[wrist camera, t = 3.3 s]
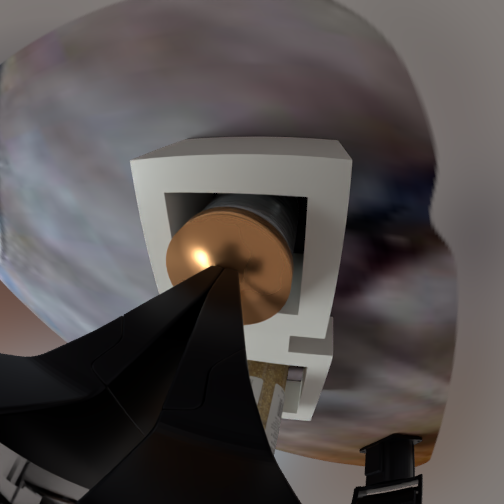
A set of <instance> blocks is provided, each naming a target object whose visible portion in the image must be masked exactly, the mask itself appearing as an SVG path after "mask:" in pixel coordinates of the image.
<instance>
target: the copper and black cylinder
mask: <svg viewBox="0 0 504 504" xmlns="http://www.w3.org/2000/svg"><path fill="white" fill-rule="evenodd" d="M298 219H299V204H298V200H297V197H296V196H284V195H266V194H242V193H219V194H218V195H217V196H216V197H215V198H214V199H213V200H212V201H211V202H210V203H209V204H208V205H207V206H206V207H205V208H204V209H203V210H202V211H201V212H199V213H197V214H196V215H194V216H193V217H192V218H190V219H189V220H188V221H187V222H186V223H185V224H184V225H183V226H182V228H181V229H180V230H179V231H178V232H177V233H176V234H175V235H174V237H173V238H172V239H171V241H170V243H169V246H168V249H167V253H166V267H167V272H168V276H169V279H170V281H171V283H172V285H173V287H174V286H175V285H177V284H179V283H181V282H182V281H184V280H186V279H188V278H190V277H191V276H193V275H195V274H197V273H199V272H200V271H202V270H204V269H206V268H207V267H209V266H218V267H223V268H224V269H225V268H229V269H235V270H238V273H239V283H240V294H241V305H242V315H243V325H251V324H256V323H260V322H262V321H265V320H267V319H269V318H271V317H272V316H274V315H275V314H277V313H278V312H279V311H280V310H281V309H282V307H283V306H284V305H285V303H286V301H287V299H288V297H289V294H290V290H291V284H292V277H293V270H294V265H293V252H294V245H295V239H296V232H297V226H298Z"/></svg>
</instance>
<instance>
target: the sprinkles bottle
mask: <svg viewBox="0 0 504 504" xmlns="http://www.w3.org/2000/svg"><path fill="white" fill-rule="evenodd" d="M247 363H248V370H249V376H250V381H251V385H252V389H253V393H254V397H255V400H256V403H257V407H258V410H259V413H260V417H261V420H262V423H263V426H264V429H265V433H266V436H267V439H268V442H269V445H270V447H271V450H272V453H273V455H274V452H275V447H276V443H277V438H278V433H279V428H280V423H281V417H282V412H283V406H284V401H285V387H286V381H287V376H288V370H289V367H290V365H284V364H275V363H268V362H260V361H253V360H247Z"/></svg>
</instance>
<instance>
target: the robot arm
mask: <svg viewBox="0 0 504 504" xmlns="http://www.w3.org/2000/svg"><path fill="white" fill-rule="evenodd" d="M421 441H422V438H421V437H411V436H402V435H391V436H389V437H387V438H385V439H382V440H380V441H378V442H376V443H373V444H371V445H369V446H366V447H364V448H362V449H360V453H366V459H365V476H366V486H363V487H361V486H360V487H356V488H355V489H354V494H353V499H352V503H351V504H422V495H423V478H422V477H423V476H422V474H420V475H418V476H415V462H414V445H415V444H417V443H419V442H421ZM415 484H418V486H417V487H409V488H405V489H401V490H396V491H391V492H386V493H380V494H373V495H367V494H368V493H375V492H381V491H387V490H392V489H397V488H402V487H406V486H411V485H415ZM0 504H301V502H300V500H299V499H298V497H297V496H296V494H295V493H294V491H293V489H292V488H291V486H290V484H289V483H288V481H287V479H286V478H285V476H284V474H283V473H282V471H281V469H280V468H279V466H278V464H277V462H276V460H275V457H274V455H273V453H272V450H271V447H270V445H269V442H268V439H267V436H266V433H265V429H264V426H263V423H262V420H261V417H260V413H259V410H258V407H257V403H256V400H255V397H254V393H253V389H252V385H251V381H250V376H249V370H248V363H247V354H246V345H245V335H244V325H243V315H242V305H241V294H240V283H239V273H238V270H235V269H229V268H225V269H224V268H223V267H218V266H209V267H207V268H206V269H204V270H202V271H200V272H199V273H197V274H195V275H193V276H191V277H190V278H188V279H186V280H184V281H182V282H181V283H179V284H177V285H175V286H174V287H172V288H170V289H168V290H166V291H165V292H163V293H161V294H159V295H158V296H156V297H154V298H152V299H150V300H149V301H147V302H145V303H143V304H142V305H140V306H138V307H136V308H135V309H133V310H131V311H129V312H128V313H126V314H124V317H123V316H120V317H119V318H117V319H115V320H113V321H112V322H110V323H108V324H106V325H104V326H102V327H100V328H99V329H97V330H95V331H93V332H90V333H88V334H86V335H84V336H82V337H80V338H78V339H76V340H73V341H71V342H69V343H67V344H65V345H62V346H60V347H58V348H56V349H54V350H51V351H49V352H47V353H44V354H41V355H38V356H32V357H22V356H14V355H7V354H1V353H0Z"/></svg>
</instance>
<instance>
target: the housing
mask: <svg viewBox="0 0 504 504" xmlns="http://www.w3.org/2000/svg"><path fill="white" fill-rule="evenodd" d="M130 162H131V169H132V175H133V181H134V187H135V193H136V198H137V204H138V209H139V214H140V219H141V223H142V228H143V233H144V237H145V241H146V246H147V250H148V254H149V258H150V262H151V266H152V269H153V273H154V277H155V281H156V284H157V288H158V291H159V294H161V293H163V292H165V291H166V290H168V289H170V288H172V287H173V285H172V283H171V281H170V279H169V276H168V272H167V267H166V253H167V249H168V246H169V243H170V241H171V239H172V238H173V237H174V235H175V234H176V233H177V232H178V231H179V230H180V229H181V228H182V226H183V225H184V224H185V223H186V222H187V221H188V220H189V219H190V218H192V217H193V216H194V215H196V214H197V213H199V212H201V211H202V210H203V209H204V208H205V207H206V206H207V205H208V204H209V203H210V202H211V201H212V200H213V199H214V198H213V193H242V194H266V195H284V196H300V197H308V203H307V220H306V235H305V249H304V254H299V253H293V265H294V270H293V277H292V284H291V290H290V294H289V297H288V299H287V301H286V303H285V305H284V306H283V307H282V309H281V310H280V311H279V312H278V313H277V314H275V315H274V316H272V317H271V318H269V319H267V320H265V321H262V322H260V323H256V324H251V325H244V335H245V345H246V354H247V360H253V361H260V362H268V363H275V364H284V365H293V366H303V367H304V370H303V375H302V379H301V382H299V381H289V380H287V381H286V387H285V401H284V406H283V412H282V417H281V418H285V419H294V420H305V421H311V418H312V415H313V413H314V410H315V408H316V405H317V402H318V400H319V397H320V394H321V391H322V388H323V385H324V383H325V380H326V377H327V374H328V371H329V368H330V364H331V361H332V358H333V317H330V313H331V309H332V304H333V299H334V294H335V289H336V283H337V278H338V272H339V266H340V260H341V254H342V248H343V241H344V234H345V227H346V219H347V211H348V203H349V193H350V183H351V172H352V159H351V157H350V156H349V155H348V153H347V152H346V150H345V149H344V148H343V146H342V145H341V144H340V142H339V141H338V140H328V139H315V138H298V137H214V138H197V139H185V140H182V141H179V142H176V143H174V144H171V145H168V146H165V147H163V148H160V149H157V150H155V151H152V152H150V153H147V154H145V155H142V156H140V157H137V158H135V159H132V160H130Z"/></svg>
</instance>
